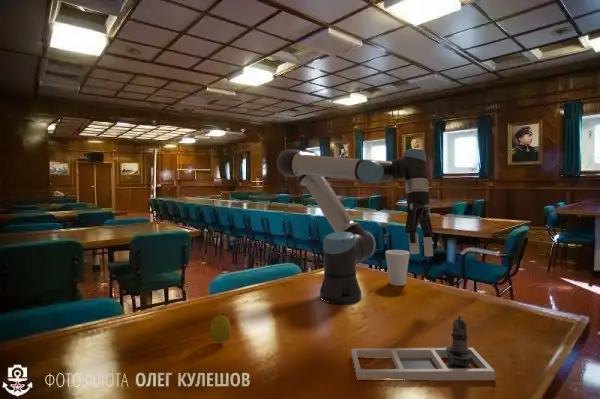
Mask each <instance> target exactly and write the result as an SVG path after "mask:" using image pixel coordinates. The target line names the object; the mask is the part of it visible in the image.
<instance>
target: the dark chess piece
mask: <svg viewBox="0 0 600 399" xmlns="http://www.w3.org/2000/svg"><path fill="white" fill-rule="evenodd" d="M467 326H468V325H467V323H466V321H465V320H463V319H462V317H461V316H460V315H459V316H458V317H457V319H454V320H453V323H452V333H451V334H450V335H451V337H452V344H451V346H448V347H446V348H447V349H446V353H447V355H448V358H447V359H448V360H449V361H448V363H447V365H446V367H447V368H448V369H473V367H472V366H471V365H470V364H471V363H472V362H473V360H472V358H473V357H474V353H473V352H472V351H471V350H469V349H468V348H469V347H468V343H467V342H468V339H469V335H467V334H468V333H467V332H468V331H467Z"/></svg>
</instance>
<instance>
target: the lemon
mask: <svg viewBox="0 0 600 399" xmlns="http://www.w3.org/2000/svg"><path fill="white" fill-rule="evenodd" d="M209 326H210V327H209V334H210V337H211V339H212V341H214V342H215V341H216V343H218V342H222V341H224V342H226V341H227V340H228V339H229V338H230V336H231V334H232V326H231V321H230V320H229V318H228V317H226V316H225V315H222V314H218V315H217V316H215V317H214V318H213V319H212V321H211V322H210V325H209ZM225 340H226V341H225Z"/></svg>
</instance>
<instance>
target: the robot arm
mask: <svg viewBox="0 0 600 399" xmlns="http://www.w3.org/2000/svg"><path fill="white" fill-rule="evenodd" d="M427 162H428V161H427V156H426V152H425V150H424V149H422V148H418V147H417V148H414V147H413V148H409V149H406V150H405V151H404V152H403V154H402V157H400V158H397V159H396V158H395V159H391V160H376V159H363V158H362V159H361V158H349V157H346V158H345V157H338V156H337V157H336V156H323V155H319V154H318V153H317V152H315V151H312V150H310V149H297V148H296V149H295V148H290V149H285V150H283V151H281V152H280V153H279V155H278V156H277V160H276V168H277V169H278V171H279V172H280V174H282V176H284V177H288V178H296V179H297V180H298V182H299V184H300V185H301V186H304V187H306V188H307V190H308V192H309V193H310V195H311V196H312V198H313V200H314V201H315V203H316V204H317V205H318V208H319V209H320V210H321V212H322V214H323V215H324V217H325V218H326V220H327V222H328V223H329V225H330V226H331V227H332V229H333V231H334V232H332V233H329V234H327V235H325V236H324V239H323V245H322V248H323V279H322V282H321V283H322V284H321V287H320V290H319V298H320V297H321V298H322V299H323V300H325V301H329V302H333V303H350V304H355V303H357V302H359V301H360V300H361V299H362V291H361V287H360V284H359V282H358V279H357V264H359V263H361V262H364V261H367V260H368V259H370V258H371V257H372V256H373V255H374V253H375V251H376V244H377V243H376V239H375V237H374V235H373V234H372V233H371V232H369V231H368V230H365V229H363V226H361V223H359V222H357V221H356V222H355V221H354V220H353V218H352V217H351V215H350V214H349V213H348V211H347V210H346V208H345V207H344V205H343V203H342V201H341V200H340V199H339V197H338V196H337V194H336V193H335V191H334V189H332V187H331V185H330V183H329V182H328V180H327V179H326V178H333V179H342V180H351V181H360V182H364V183H367V184H374V183H375V184H386V183H390V182H393V181H399V180H404V181H405V182H404V183H405V184H404V186H405V187H404V188H405V193H406V194H405V197H406V205H407V212H406V213H407V214H406V220H405V221H406V222H405V229H404V230H405V234H408V245H409V255H419V254H420V245H419V234H418V232H417V231H418V227H419V225H420V229H421V231H422V234H423V236H424V237H423V239H422V240H423V250H424V253H423V254H424V257H434V249H433V248H434V247H433V238H435V233H434V230H433V226H432V220H431V218H430V210H429V209H428V208H426V205H429V204H430V201H431V200H430V193H429V190H430V189H429V185H430V181H429V180H428V179H429V178H428V167H427V166H428V164H427ZM323 300H322V301H323ZM325 301H324V302H325ZM354 302H355V303H354Z"/></svg>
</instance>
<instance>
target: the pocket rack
mask: <svg viewBox="0 0 600 399" xmlns="http://www.w3.org/2000/svg"><path fill="white" fill-rule="evenodd" d="M447 348H448V347H397V348H394V347H393V348H392V347H390V348H389V347H385V348H382V347H381V348H380V347H379V348H377V347H375V348H371V347H370V348H351V350H350V351H351V360H352V359H353V361H352V364H353V363H354V365H353V369H354V368H355V370H354V373H355V372H356V374H355V378H356V377H357V379H358V378H359V379H360V378H361V379H363V378H364V379H366V378H368V379H369V378H376V379H377V378H379V379H380V378H381V379H383V378H390V379H403V380H404V379H405V380H428V381H495V380H496V379H495V378H496V377H495V376H496V371H495V370H494V368H493V367H492V366H491V365H490V364H489V363H488V362H487V361H486V360H485V359H484V358H483V357H482V355H481V354H480V353H478V352H477V351H476V350H475V348H474V347H467V348H468V349H469V350H471V351H472V352H473V353H474V357H473V358H472V362H473V363H474V364H475V366H477V367H478V368H472V369H449V368H448V366H447V365H446V364H445V363H444V361H443V360H442V359H449V358H448V355H447V353H446V349H447ZM358 357H391V358H392V359H391V358H390V359H391V362H392V361H393V362H392V364H393V363H394V364H393V366H394V365H395V366H394V368H390V369H389V368H384V369H383V368H380V369H379V368H377V369H370V368H369V369H368V368H367V369H363V368H362V367H361V365H360V360H359V359H358ZM399 357H400V358H399ZM433 362H434V363H433ZM435 365H436V366H435ZM395 367H396V368H395ZM437 368H438V369H437ZM357 379H356V380H357Z"/></svg>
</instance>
